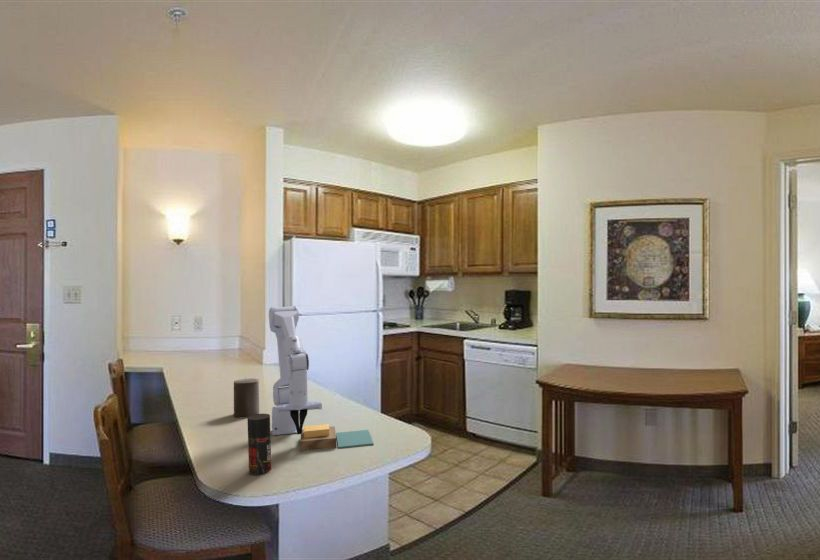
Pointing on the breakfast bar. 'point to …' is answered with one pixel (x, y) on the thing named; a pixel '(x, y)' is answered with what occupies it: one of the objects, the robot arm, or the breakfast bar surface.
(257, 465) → the deodorant
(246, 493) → the breakfast bar surface
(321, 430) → the tile
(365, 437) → the mat
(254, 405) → the pillar candle
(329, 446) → the brown flat block
